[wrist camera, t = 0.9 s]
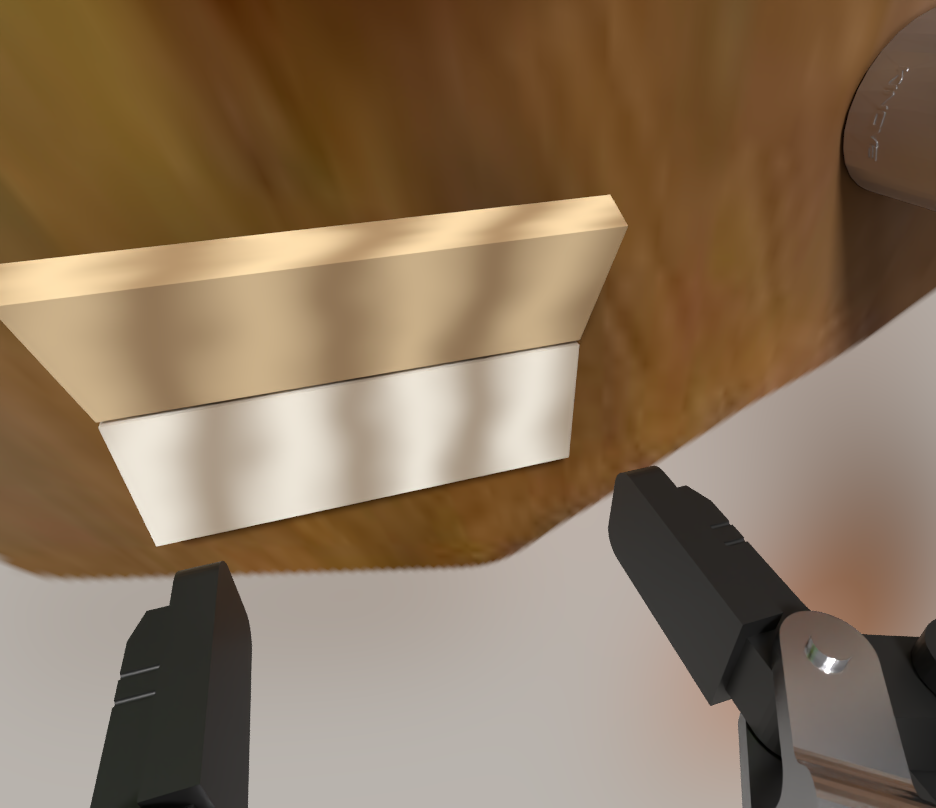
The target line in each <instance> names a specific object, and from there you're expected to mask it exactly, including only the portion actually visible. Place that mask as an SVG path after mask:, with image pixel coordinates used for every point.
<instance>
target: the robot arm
mask: <svg viewBox="0 0 936 808" xmlns="http://www.w3.org/2000/svg"><path fill="white" fill-rule="evenodd" d="M843 151H844V158H845V165H846V167H847V169H848V172H849V174H850V176H851V178H852V179H853V180H854V181H855V182H856V183H857V184H858V185H859V186H860V187H862V188H864V189H866V190H868V191H871V192H874V193H878V194H881V195H884V196H887V197H891V198H894V199H897V200H901V201H904V202H907V203H910V204H914V205H917V206H920V207H923V208H926V209H929V210H932V211H935V212H936V8H933V9H931V10H929V11H928V12H926V13H924V14H923V15H921V16H919V17H917V18H916V19H914V20H913V21H912V22H911V23H910V24H908V25H907V26H906V27H905V28H903V29H902V30H901V31H900V32H899V33H898V34H897V35H896V36H895V37H894V38H893V39H892V40H891V41H890V42H889V43H888V45H887V46H886V47H885V48H884V49H883V50H882V51H881V53H880V54H879V56H878V57H877V58H876V60H875V61H874V63H873V64H872V65H871V67H870V68H869V70H868V72H867V73H866V75H865V77H864V79H863V81H862V83H861V84H860V86H859V88H858V90H857V92H856V95H855V98H854V100H853V103H852V105H851V108H850V110H849V114H848V118H847V122H846V127H845V131H844V145H843ZM608 532H609V539H610V543H611V546H612V549H613V551H614V554H615V555H616V557H617V559H618V560H619V562H620V564H621V565H622V567H623V568H624V570H625V572H626V573H627V575H628V576H629V578H630V579H631V581H632V582H633V584H634V586H635V587H636V589H637V591H638V592H639V594H640V595H641V597H642V599H643V600H644V602H645V603H646V605H647V606H648V608H649V610H650V611H651V613H652V614H653V616H654V617H655V619H656V621H657V622H658V624H659V625H660V627H661V629H662V630H663V632H664V633H665V635H666V636H667V638H668V640H669V641H670V643H671V644H672V646H673V647H674V649H675V650H676V652H677V654H678V655H679V657H680V659H681V660H682V662H683V663H684V665H685V666H686V668H687V670H688V671H689V673H690V674H691V676H692V678H693V679H694V681H695V682H696V684H697V685H698V687H699V688H700V690H701V692H702V693H703V695H704V697H705V698H706V700H707V701H708V703H709V704H710V706H712V705H714V704H718V703H721V702H724V701H726V700H730V699H732V700H733V701H734V703H735V705H736V706H737V708H738V709H739V711H740V712H741V713H740V716H739V721H738V731H739V748H740V767H741V787H742V806H743V808H936V619H935V620H933V621H932V622H931V623H930V624H929V625H928V626H927V627H926V629H925V630H924V632H923V633H922V634H921V636H920V637H907V636H885V635H883V636H882V635H867V634H861V633H860V632H859V631H857V630H856V629H855V628H854V627H852V626H851V625H849V624H848V623H846V622H844V621H843V620H841V619H839V618H836V617H834V616H832V615H829V614H826V613H822V612H817V611H811V610H809V609H808V608H807V607H806V606H805V605H804V604H803V603H802V602H801V601H800V599H799V598H798V597H797V596H796V595H795V594H794V593H793V592H792V591H791V589H790V588H789V587H788V586H787V585H786V584H785V583H784V582H783V581H782V579H781V578H780V577H779V576H778V575H777V574H776V573H775V572H774V570H773V569H772V568H771V567H770V566H769V565H768V564H767V563H766V562H765V560H764V559H763V558H762V557H761V556H760V555H759V554H758V553H757V551H756V550H755V549H754V548H753V547H752V546H751V545H750V544H749V543H748V542H745V541H744V537H743V536H742V535H741V534H740V532H739V531H738V530H737V529H736V528H735V527H734V526H733V525H730V524H729V520H728V519H727V518H726V517H725V516H724V515H723V514H722V513H721V511H720V510H719V509H718V508H717V507H716V506H715V505H714V504H713V502H711V500H709V499H707V498H706V497H704V496H702V495H701V494H699V493H698V492H696V491H694V490H693V489H691V488H690V487H688V486H682V487H678V488H677V487H676V486H675V485H674V483H673V482H672V481H671V480H670V479H669V477H668V476H667V475H666V474H665V473H664V472H663V471H662V470H661V469H660V468H659V467H657V466H650V467H646V468H641V469H637V470H632V471H628V472H624V473H620V474H618V476H617V477H616V480H615V486H614V493H613V500H612V506H611V512H610V519H609V526H608ZM251 661H252V641H251V631H250V625H249V620H248V617H247V613H246V611H245V608H244V606H243V603H242V601H241V598H240V596H239V593H238V591H237V588H236V586H235V583H234V581H233V578H232V576H231V573H230V571H229V568H228V566H227V564H226V563H225V562H224V561H221V562H216V563H212V564H208V565H203V566H199V567H194V568H190V569H185V570H181V571H178V572H177V573H176V574H175V577H174V581H173V587H172V593H171V600H170V605H169V606H166V607H162V608H158V609H153V610H149V611H146V613H145V615H144V616H143V618H142V619H141V621H140V623H139V624H138V625H137V627H136V629H135V630H134V632H133V633H132V635H131V636H130V638H129V639H128V641H127V644H126V649H125V653H124V658H123V662H122V667H121V671H120V675H121V679H120V680H119V681H118V685H117V689H116V694H115V698H114V702H115V706H114V707H113V708H112V712H111V716H110V721H109V725H108V730H107V734H106V739H105V744H104V748H103V752H102V757H101V761H100V766H99V770H98V775H97V779H96V784H95V789H94V793H93V797H92V802H91V806H90V808H248V781H249V741H250V702H251V701H250V700H251Z"/></svg>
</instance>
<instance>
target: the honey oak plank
mask: <svg viewBox="0 0 936 808" xmlns="http://www.w3.org/2000/svg"><path fill="white" fill-rule="evenodd" d="M627 227H628V225H627V223H626V222H625V220H624V218H623V216H622V215H621V213H620V211H619V209H618V208H617V206H616V204H615V202H614V201H613V199H612V197H611V195H604V196H595V197H586V198H577V199H568V200H560V201H551V202H542V203H533V204H524V205H516V206H507V207H498V208H489V209H480V210H472V211H463V212H454V213H445V214H436V215H428V216H419V217H410V218H401V219H392V220H384V221H375V222H366V223H357V224H348V225H340V226H331V227H322V228H313V229H304V230H296V231H287V232H278V233H269V234H260V235H252V236H243V237H234V238H225V239H216V240H208V241H199V242H190V243H181V244H172V245H164V246H155V247H146V248H137V249H128V250H120V251H111V252H102V253H93V254H84V255H76V256H67V257H58V258H49V259H40V260H32V261H23V262H14V263H5V264H0V320H1V321H2V322H3V323H4V324H5V325H6V326H7V327H8V328H9V329H10V331H11V332H12V333H13V334H14V335H15V336H16V337H17V338H18V339H19V340H20V341H21V342H22V343H23V345H24V346H25V347H26V348H27V349H28V350H29V351H30V352H31V353H32V354H33V355H34V356H35V357H36V359H37V360H38V361H39V362H40V363H41V364H42V365H43V366H44V367H45V368H46V369H47V370H48V372H49V373H50V374H51V375H52V376H53V377H54V378H55V379H56V380H57V381H58V382H59V383H60V384H61V386H62V387H63V388H64V389H65V390H66V391H67V392H68V393H69V394H70V395H71V396H72V397H73V398H74V400H75V401H76V402H77V403H78V404H79V405H80V406H81V407H82V408H83V409H84V410H85V411H86V412H87V414H88V415H89V416H90V417H91V418H92V419H93V420H94V421H95V422H102V421H108V420H113V419H119V418H125V417H131V416H137V415H143V414H149V413H154V412H160V411H166V410H172V409H178V408H184V407H190V406H196V405H201V404H207V403H213V402H219V401H225V400H231V399H237V398H242V397H248V396H254V395H260V394H266V393H272V392H278V391H283V390H289V389H295V388H301V387H307V386H313V385H319V384H325V383H330V382H336V381H342V380H348V379H354V378H360V377H366V376H371V375H377V374H383V373H389V372H395V371H401V370H407V369H413V368H418V367H424V366H430V365H436V364H442V363H448V362H454V361H459V360H465V359H471V358H477V357H483V356H489V355H495V354H500V353H506V352H512V351H518V350H524V349H530V348H536V347H542V346H547V345H553V344H559V343H565V342H571V341H577V340H580V338H581V336H582V333H583V331H584V329H585V326H586V324H587V322H588V319H589V317H590V315H591V312H592V310H593V308H594V305H595V303H596V300H597V298H598V296H599V293H600V291H601V289H602V286H603V284H604V282H605V279H606V277H607V274H608V272H609V270H610V267H611V265H612V263H613V260H614V258H615V256H616V253H617V251H618V248H619V246H620V244H621V241H622V239H623V237H624V234H625V232H626V230H627Z"/></svg>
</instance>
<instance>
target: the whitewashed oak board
mask: <svg viewBox="0 0 936 808" xmlns="http://www.w3.org/2000/svg"><path fill="white" fill-rule="evenodd" d="M578 353H579V344H578V343H577V342H576V341H571V342H565V343H559V344H553V345H547V346H542V347H536V348H530V349H524V350H518V351H512V352H506V353H500V354H495V355H489V356H483V357H477V358H471V359H465V360H459V361H454V362H448V363H442V364H436V365H430V366H424V367H418V368H413V369H407V370H401V371H395V372H389V373H383V374H377V375H371V376H366V377H360V378H354V379H348V380H342V381H336V382H330V383H325V384H319V385H313V386H307V387H301V388H295V389H289V390H283V391H278V392H272V393H266V394H260V395H254V396H248V397H242V398H237V399H231V400H225V401H219V402H213V403H207V404H201V405H196V406H190V407H184V408H178V409H172V410H166V411H160V412H154V413H149V414H143V415H137V416H131V417H125V418H119V419H113V420H108V421H102V422H100V425H99V427H98V428H99V430H100V432H101V434H102V436H103V438H104V440H105V442H106V444H107V446H108V448H109V451H110V453H111V455H112V457H113V459H114V461H115V463H116V465H117V467H118V469H119V471H120V473H121V475H122V477H123V479H124V481H125V483H126V485H127V487H128V489H129V491H130V493H131V496H132V498H133V500H134V502H135V504H136V506H137V508H138V510H139V512H140V514H141V516H142V518H143V520H144V522H145V524H146V526H147V528H148V530H149V532H150V534H151V536H152V539H153V541H154V543H155V545H156V546H161V545H165V544H170V543H175V542H179V541H184V540H189V539H193V538H198V537H202V536H207V535H212V534H216V533H221V532H226V531H230V530H235V529H239V528H244V527H249V526H253V525H258V524H262V523H267V522H272V521H276V520H281V519H286V518H290V517H295V516H299V515H304V514H309V513H313V512H318V511H322V510H327V509H332V508H336V507H341V506H346V505H350V504H355V503H359V502H364V501H369V500H373V499H378V498H383V497H387V496H392V495H396V494H401V493H406V492H410V491H415V490H419V489H424V488H429V487H433V486H438V485H443V484H447V483H452V482H456V481H461V480H466V479H470V478H475V477H479V476H484V475H489V474H493V473H498V472H503V471H507V470H512V469H516V468H521V467H526V466H530V465H535V464H540V463H544V462H549V461H553V460H558V459H563V458H567V457H569V449H570V438H571V428H572V417H573V406H574V396H575V385H576V375H577V364H578Z"/></svg>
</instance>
